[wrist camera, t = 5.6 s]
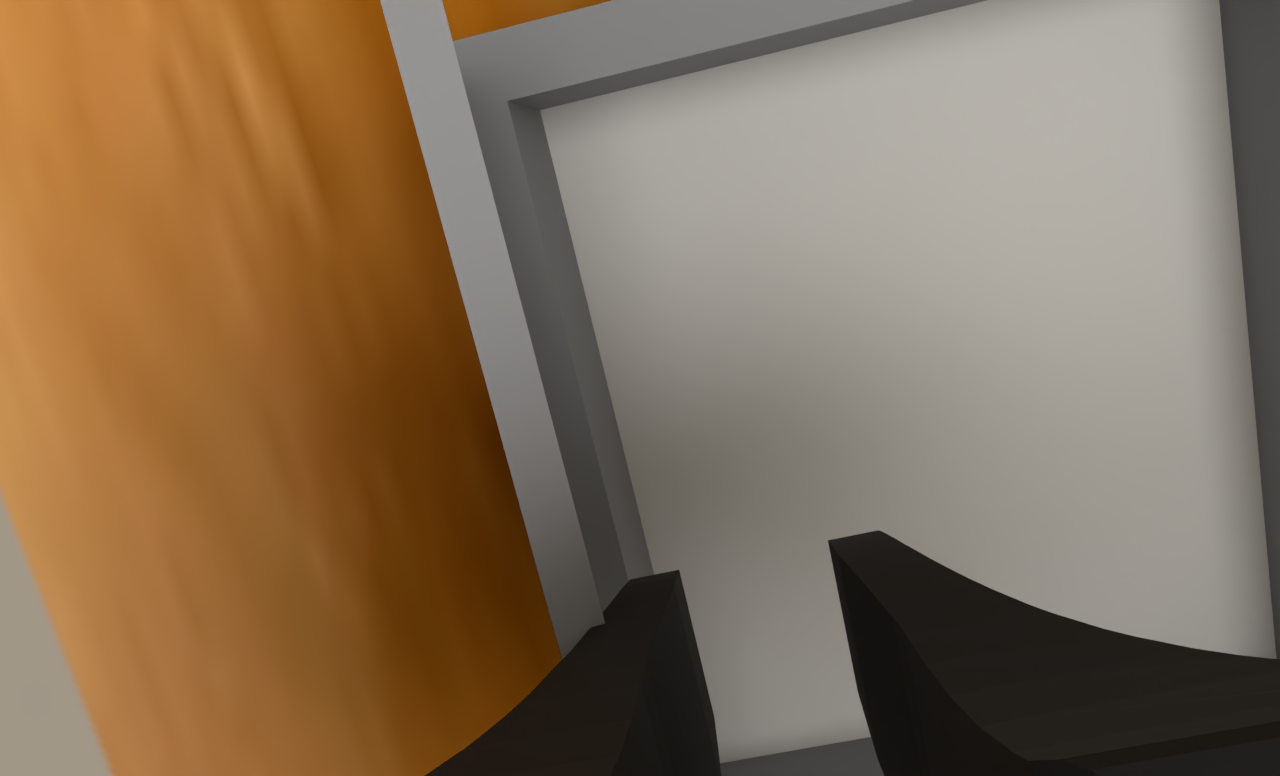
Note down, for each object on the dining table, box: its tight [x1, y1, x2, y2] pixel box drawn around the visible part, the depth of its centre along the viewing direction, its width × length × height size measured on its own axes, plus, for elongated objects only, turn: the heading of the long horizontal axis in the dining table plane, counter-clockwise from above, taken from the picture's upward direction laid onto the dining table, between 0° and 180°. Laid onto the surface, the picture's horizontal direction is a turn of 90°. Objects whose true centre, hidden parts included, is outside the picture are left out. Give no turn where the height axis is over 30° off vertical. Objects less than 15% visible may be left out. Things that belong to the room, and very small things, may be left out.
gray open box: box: [453, 0, 1280, 776], centre depth 17 cm, size 14×16×4 cm
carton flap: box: [380, 0, 605, 660], centre depth 13 cm, size 6×15×1 cm
